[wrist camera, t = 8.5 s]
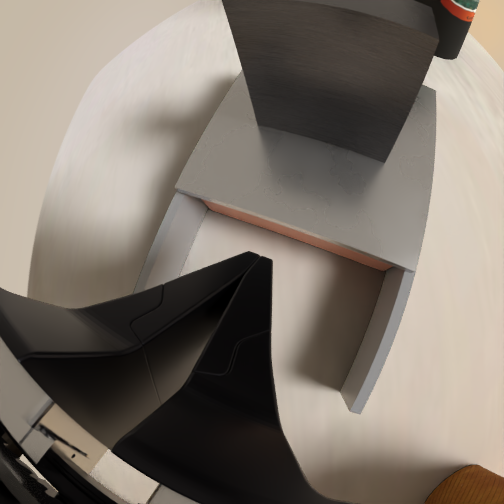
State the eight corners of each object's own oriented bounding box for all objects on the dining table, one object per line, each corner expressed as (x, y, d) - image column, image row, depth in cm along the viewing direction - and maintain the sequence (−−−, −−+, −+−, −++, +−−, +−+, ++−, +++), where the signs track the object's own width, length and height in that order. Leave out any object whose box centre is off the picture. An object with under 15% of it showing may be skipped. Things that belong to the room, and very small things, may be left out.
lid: (410, 273, 11) (538, 218, 3) (178, 191, 14) (78, 90, 6) (432, 95, 13) (472, 2, 5) (262, 48, 16) (239, -48, 8)
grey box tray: (348, 394, 14) (360, 414, 11) (155, 312, 17) (126, 312, 14) (420, 132, 17) (436, 105, 13) (262, 85, 20) (255, 55, 16)
